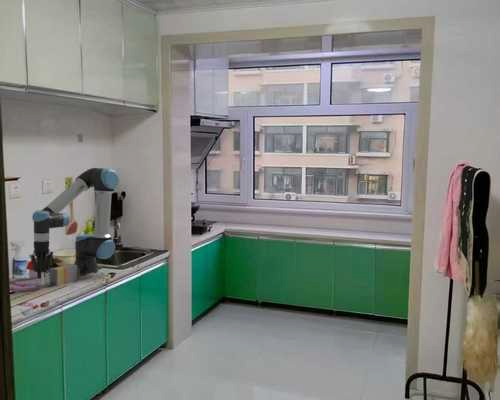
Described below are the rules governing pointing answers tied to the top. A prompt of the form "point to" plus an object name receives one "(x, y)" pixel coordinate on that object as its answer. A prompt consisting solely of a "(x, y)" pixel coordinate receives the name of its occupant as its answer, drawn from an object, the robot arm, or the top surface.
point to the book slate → (73, 272)
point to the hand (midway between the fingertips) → (41, 283)
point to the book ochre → (60, 275)
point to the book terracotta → (67, 273)
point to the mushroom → (31, 269)
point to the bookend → (53, 278)
